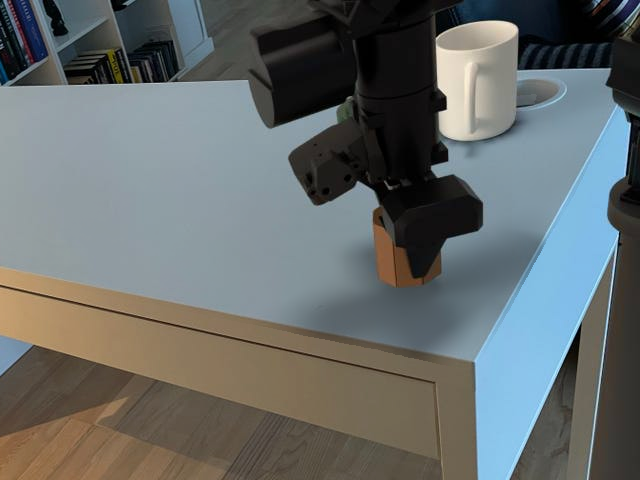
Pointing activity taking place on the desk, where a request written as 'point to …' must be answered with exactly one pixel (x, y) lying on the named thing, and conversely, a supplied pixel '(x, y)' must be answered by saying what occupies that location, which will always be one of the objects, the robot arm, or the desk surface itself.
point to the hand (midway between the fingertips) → (408, 259)
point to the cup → (478, 79)
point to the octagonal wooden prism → (396, 259)
